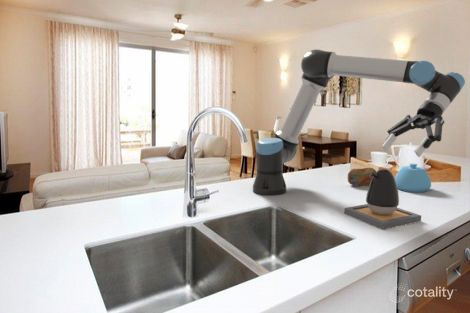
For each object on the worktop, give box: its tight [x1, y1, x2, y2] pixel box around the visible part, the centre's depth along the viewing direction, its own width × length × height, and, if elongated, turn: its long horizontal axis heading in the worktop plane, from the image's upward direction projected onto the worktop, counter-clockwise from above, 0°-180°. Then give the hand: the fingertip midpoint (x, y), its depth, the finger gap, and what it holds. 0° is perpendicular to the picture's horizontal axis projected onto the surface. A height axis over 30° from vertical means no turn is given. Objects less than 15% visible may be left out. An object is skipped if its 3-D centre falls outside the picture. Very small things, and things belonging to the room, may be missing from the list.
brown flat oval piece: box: [347, 167, 377, 187], centre depth 155 cm, size 15×3×8 cm, turn 105°
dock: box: [343, 203, 422, 230], centre depth 111 cm, size 17×17×2 cm
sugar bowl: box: [394, 163, 432, 193], centre depth 147 cm, size 15×15×12 cm
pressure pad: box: [356, 207, 409, 221], centre depth 111 cm, size 13×13×1 cm
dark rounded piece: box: [365, 168, 400, 215], centre depth 110 cm, size 10×10×15 cm
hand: (399, 151), depth 115 cm, fingers open, 13 cm apart
